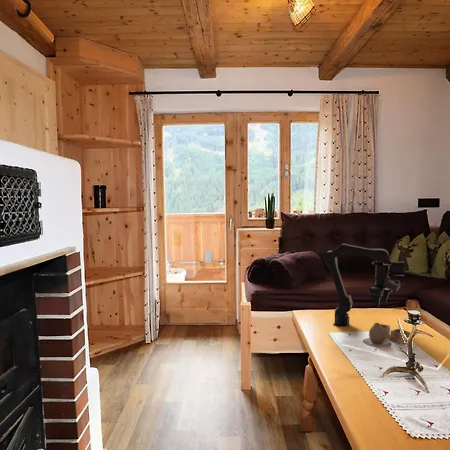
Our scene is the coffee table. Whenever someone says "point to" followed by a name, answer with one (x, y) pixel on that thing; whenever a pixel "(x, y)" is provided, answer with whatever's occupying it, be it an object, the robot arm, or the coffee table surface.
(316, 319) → the coffee table surface
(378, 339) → the vase
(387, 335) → the box
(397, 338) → the box
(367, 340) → the coaster
